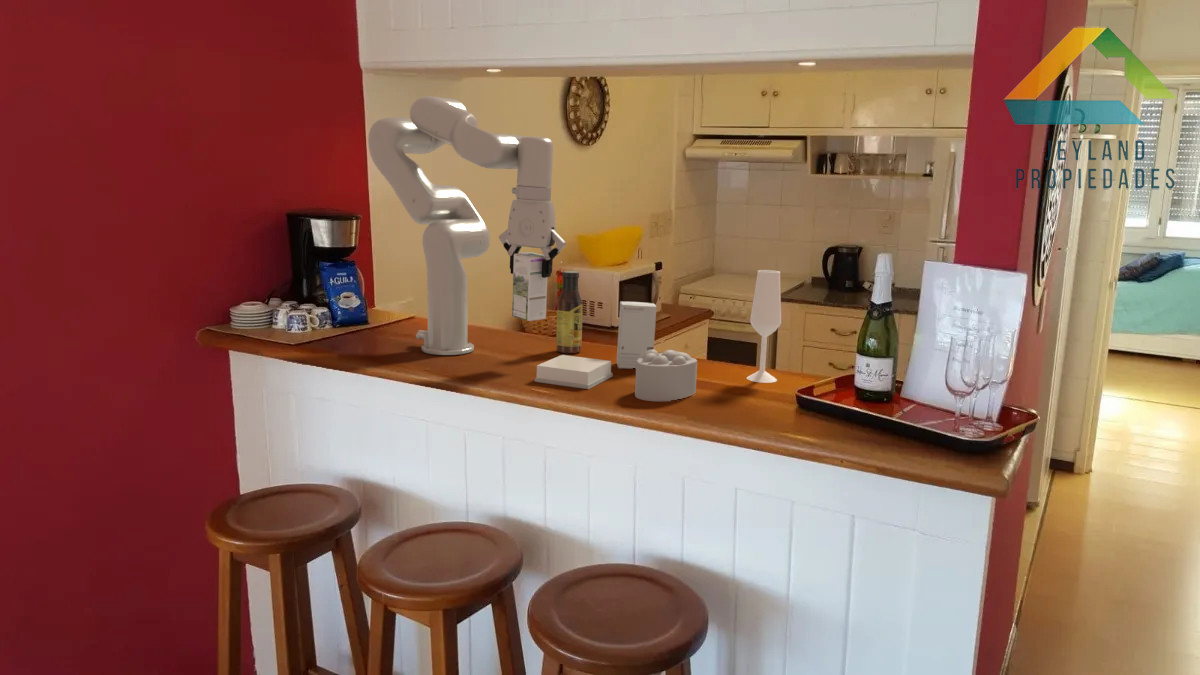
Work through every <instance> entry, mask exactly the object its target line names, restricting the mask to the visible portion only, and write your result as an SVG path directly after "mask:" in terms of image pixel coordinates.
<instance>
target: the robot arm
mask: <svg viewBox="0 0 1200 675" xmlns="http://www.w3.org/2000/svg"><path fill="white" fill-rule="evenodd" d="M409 116H410V118H409V117H397V116H396V117H395V116H394V117H391V116H389V117H383V118H379V119H378V120H377V121H375V122H374V123H373V124H372V125H371V127H370V128H369V132H368V139H367V142H368V150H369V155H370V157H371V160H372V162H373V163H374V165H375V167H376V169H377V170H378V171H379V173H380V174H381V175H382V176H383V177H384V179H385V180H386V181H387V183H388V184H389V185H390V186H391V188H392V189H393V191H394V193H395V195H396V196H397V198H398V200H399V201H400V202H401V204H402V206H403V207H404V209H405V210H406V212H407V213H408V215H409V216H410V218H411V219H412V220H413V221H414V222H415V223H417V224H418V225H425V226H426V225H427V226H426V228H425V229H424V231H423V233H422V240H421V242H422V243H421V244H422V248H423V253H424V260H425V264H426V284H427V285H426V287H427V288H426V289H427V330H422V329H418V330H417V332H416V335H415V339H417V340H423V342H424V343H423V344H421V351H422V352H423V353H425V354H429V355H437V356H457V355H466V354H469V353H472V352H473V351H474V350H475V345H474V344H473V343H472V342H468V276H467V272H466V269H465V267H464V265H463V262H462V259H468V258H469V259H471V258H477V257H481V256H483V255H484V254H486V253H487V251H488V249H489V247H490V244H491V234H490V232H489V228H488V226H487V224H486V223H485V221H484V220H483V218H482V217H481V215H480V214H479V212H478V210H477V209H476V208H475V206H474V205H473V203H472V202H471V200H470V199H469V197H468V196H467V194H466V193H464V192H465V191H462V189H460V188H459V187H457V186H454V185H450V184H435V183H433V182H431V181H430V179H429V178H428V177H427V175H426V173H425V172H424V170H423V169H422V167H420V165H419V164H418V163H417V162H415V161H414V160H413V159H411V158H410V157H409V156H408V155H406V154H409V155H410V154H415V155H417V154H418V155H424V154H429V153H433V152H434V151H436V150H438V149H439V148H441V147H442V146H444V145H446V144H448V145H450V146H452V147H453V150H454V151H455V152H456V154H457V155H459V157H461V158H463V159H464V160H466V161H468V162H470V163H473V164H474V165H476V166H479V167H481V168H486V169H490V170H491V169H493V170H494V169H495V170H497V169H498V170H499V169H500V170H501V169H503V170H516V172H517V175H516V186H515V187H512V188H511V193H512V194H513V195H515V198H516V199H512V201H511V205H510V210H509V215H508V221H507V222H508V223H507V229H506V230H505V231H503V232H502V233H501V234H500V235H499V236H498V238H499V241H500V243H501V244H502V245H503V248H504V249H505V250H506V252H507V255H508V256H509V269H510V274H512V275H513V267H514V254H517V253H520V251H521V249H522V247H527V248H533V249H540V250H541V252H542V255H544V257H545V259H544V260H542V278H547V279H548V278H550V277H551V276H552V273H553V262H554V261H553V260H554V259H555V258H556V256H558V255H560V252H561V251H562V250H563V249H564V248H565V246H566V245H567V243H566V241H565V240H564V239H563V238H562V237H561V236H560V235H559V234H558V233H557V232H556V231H557V229H556V228H557V227H556V224H557V223H556V212H555V205H554V202H553V201H551V200H552V184H553V183H552V181H553V180H552V179H553V161H554V160H553V157H554V143H553V141H552V139H550V138H548V137H544V136H543V137H542V136H524V135H520V134H512V133H511V134H509V133H493V132H488V131H485V130H483V129H481V128H479V126H478V121H477V120H478V119H476V117H475V115H474V114H472V113H471V112H468V110H467V108H466V106H465V105H464V103H462V102H461V101H459V100H458V99H454V98H449V97H441V96H431V95H429V96H428V95H426V96H422V97H420V98H417V99H416V100H414V102H413V103H412V104H411V106H410V109H409ZM555 244H556V245H555ZM554 245H555V247H554V248H553V246H554Z"/></svg>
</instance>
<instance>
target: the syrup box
mask: <svg viewBox="0 0 1200 675" xmlns="http://www.w3.org/2000/svg"><path fill="white" fill-rule="evenodd" d="M544 259H545V257H544V255H543V254H540V253H536V252H531V251H530V252H527V251H526V252H525V251H524V252H519V253H517V254H514V267H513V274H512V275H513V277H512V300H511V302H512V305H511V306H512V308H511V309H512V310H511V316H512V317H513V318H516V319H520V320H524V321H528V322H529V321H530V322H533V321H539V320H545V319H546V318H547V298H548V297H547V296H548V295H547V294H548V277H547V278H542V260H544Z"/></svg>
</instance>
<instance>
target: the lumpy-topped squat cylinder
mask: <svg viewBox="0 0 1200 675" xmlns="http://www.w3.org/2000/svg"><path fill="white" fill-rule="evenodd" d="M697 372H698V360H697V359H696V358H695V357H691V355H690V354H688V353H686V352H682V351H676V350H673V349H666V350H665V351H663V352H660V353H659V352H658V351H657V350H656V349H655V348H654V349H651V350H648V351H646V352H645V354H644V356H641V357H640V358H639V359H638V360H637V361H636V369H635V382H634V383H635V384H634V385H635V386H634V396H635V398H637V399H639V400H642V401H646V402H647V401H648V402H649V401H650V402H672V401H671V400H677V399H682V398H685V397H688V396H691V395H693V394H695V393H696V392H697V390H696V389H697V378H698V377H697V374H698V373H697ZM696 394H697V393H696ZM696 394H695V395H696ZM682 400H683V399H682ZM677 401H678V400H677Z"/></svg>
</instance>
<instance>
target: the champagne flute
mask: <svg viewBox="0 0 1200 675" xmlns="http://www.w3.org/2000/svg"><path fill="white" fill-rule="evenodd" d="M781 296H782V295H781V271H778V270H774V269H773V270H772V269H771V270H770V269H759V270H757V273H756V280H755V287H754V293H753V298H752V299H753V300H752V306H751V310H750V311H751V312H750V319H749V321H750V322H749V323H750V324H751V326H752V328H753V329H754V331H755V332H756V333H757V334H758V335H760V336H761V340H760V341H761V342H760V343H761V346H760V358H759V360H760V361H759V370H757V371H756V372H754V373H752V374H750V375H748V376H747V377H746V379H747V380H748V381H751V382H755V383H761V384H763V383H765V384H769V383H770V384H771V383H776V382H778V379H777V378H776V377H775V376H773V375H772V374H770V373H769V372H767V371H766V361H767V360H766V359H767V345H768V337H769V336H771V335H772V334H773V333H775V332H776V331H777V330H778V328H780V326H781V324H782V304H781V303H782V302H781V301H782V298H781Z"/></svg>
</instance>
